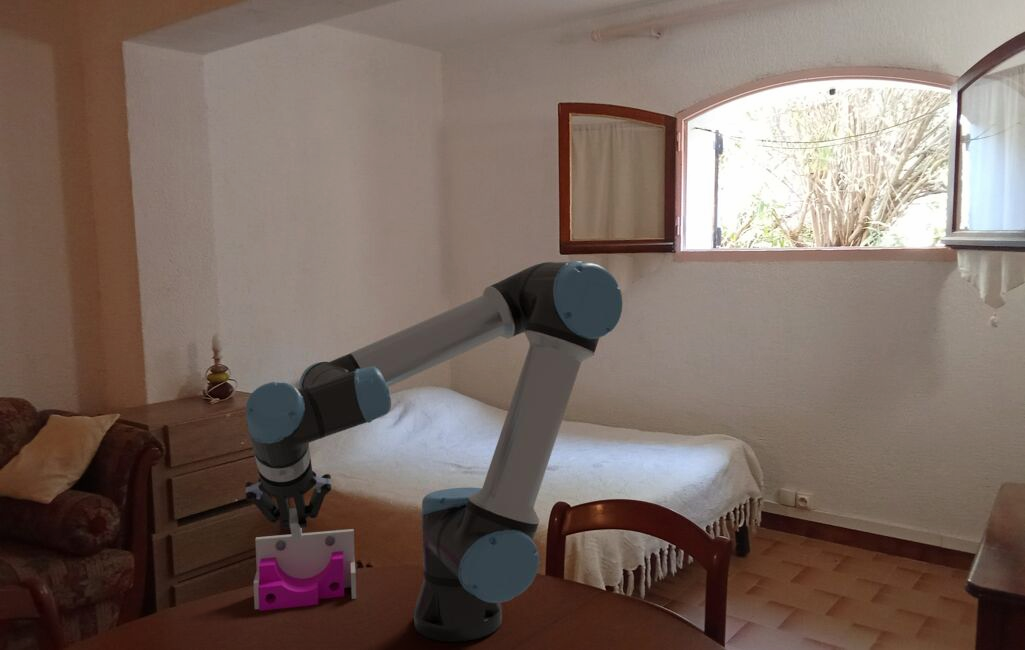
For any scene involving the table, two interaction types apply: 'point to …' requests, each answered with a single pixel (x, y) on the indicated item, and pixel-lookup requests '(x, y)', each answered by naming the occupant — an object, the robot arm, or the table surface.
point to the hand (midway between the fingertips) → (297, 533)
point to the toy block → (298, 585)
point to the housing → (308, 555)
